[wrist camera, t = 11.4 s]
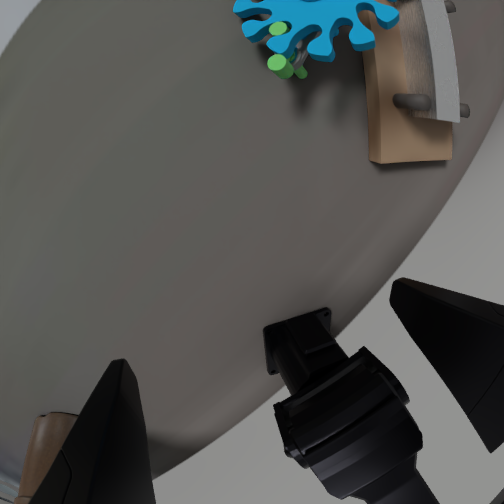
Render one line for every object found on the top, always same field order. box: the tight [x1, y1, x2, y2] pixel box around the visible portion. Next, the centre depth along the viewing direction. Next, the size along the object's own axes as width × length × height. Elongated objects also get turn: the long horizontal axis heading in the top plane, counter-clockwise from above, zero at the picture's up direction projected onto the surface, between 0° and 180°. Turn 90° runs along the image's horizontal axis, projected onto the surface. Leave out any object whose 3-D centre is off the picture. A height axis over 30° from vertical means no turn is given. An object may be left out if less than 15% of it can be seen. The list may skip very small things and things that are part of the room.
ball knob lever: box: [394, 0, 460, 123], centre depth 14 cm, size 16×4×3 cm, turn 7°
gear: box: [233, 0, 400, 79], centre depth 13 cm, size 11×6×10 cm
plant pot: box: [14, 413, 78, 504], centre depth 17 cm, size 16×16×16 cm
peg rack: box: [358, 0, 470, 164], centre depth 15 cm, size 20×10×4 cm, turn 7°
